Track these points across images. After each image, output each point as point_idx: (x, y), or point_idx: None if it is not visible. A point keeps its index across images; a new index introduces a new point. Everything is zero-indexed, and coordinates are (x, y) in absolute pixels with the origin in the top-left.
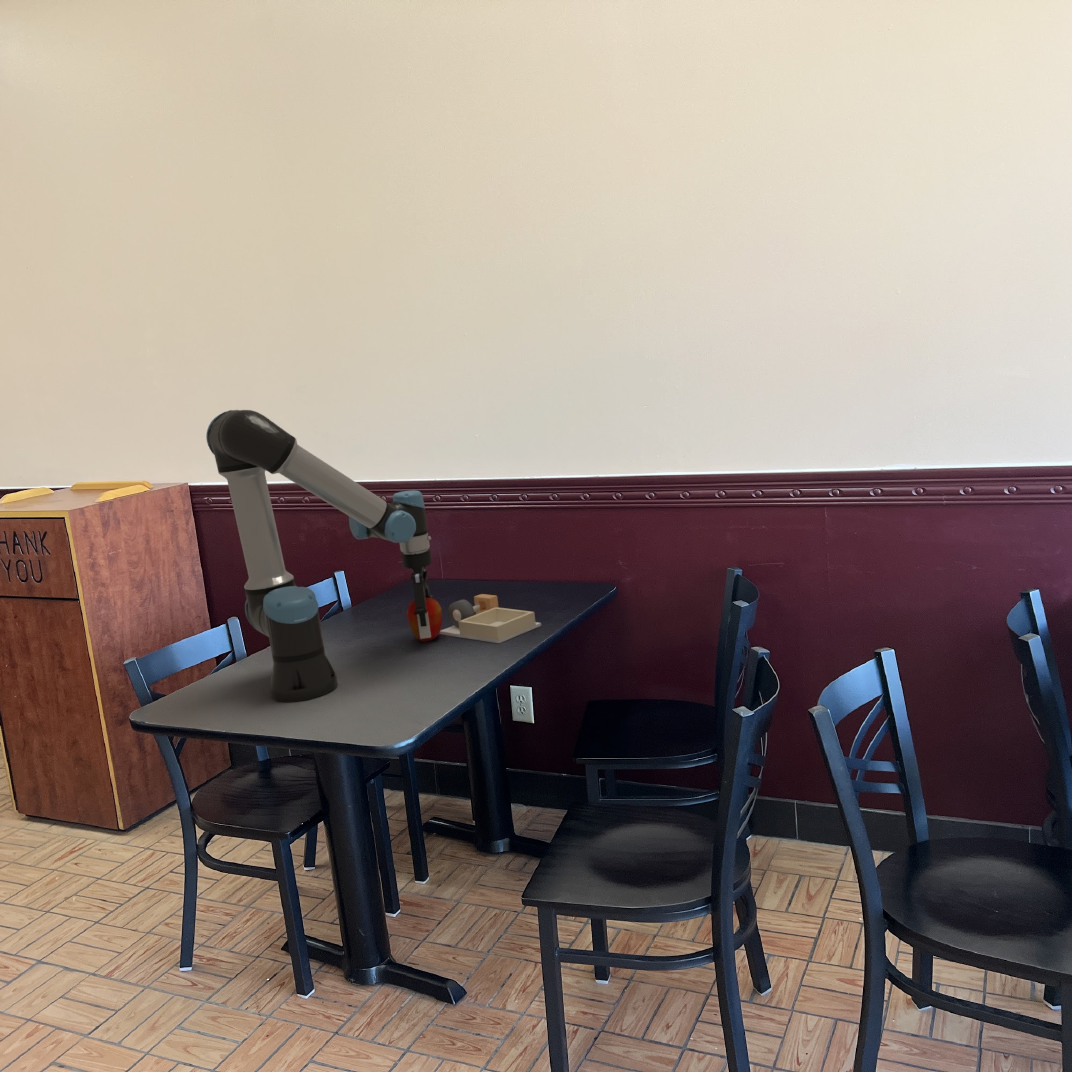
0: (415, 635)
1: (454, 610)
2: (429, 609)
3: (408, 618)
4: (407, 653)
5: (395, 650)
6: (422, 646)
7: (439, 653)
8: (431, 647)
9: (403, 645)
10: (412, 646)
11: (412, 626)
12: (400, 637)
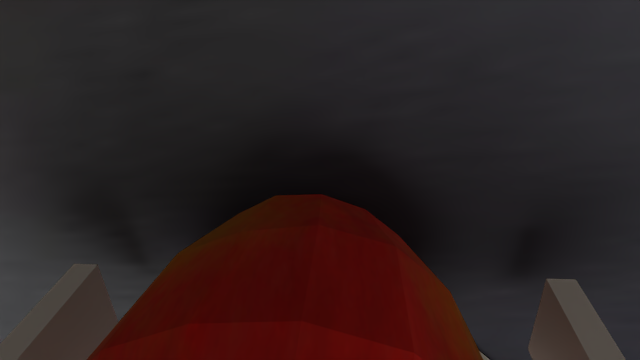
0: (243, 212)
1: None
2: None
3: (184, 299)
4: (4, 127)
5: (90, 12)
6: (163, 220)
7: (4, 309)
8: (129, 271)
9: (229, 73)
10: (180, 151)
11: (167, 265)
12: (534, 10)
